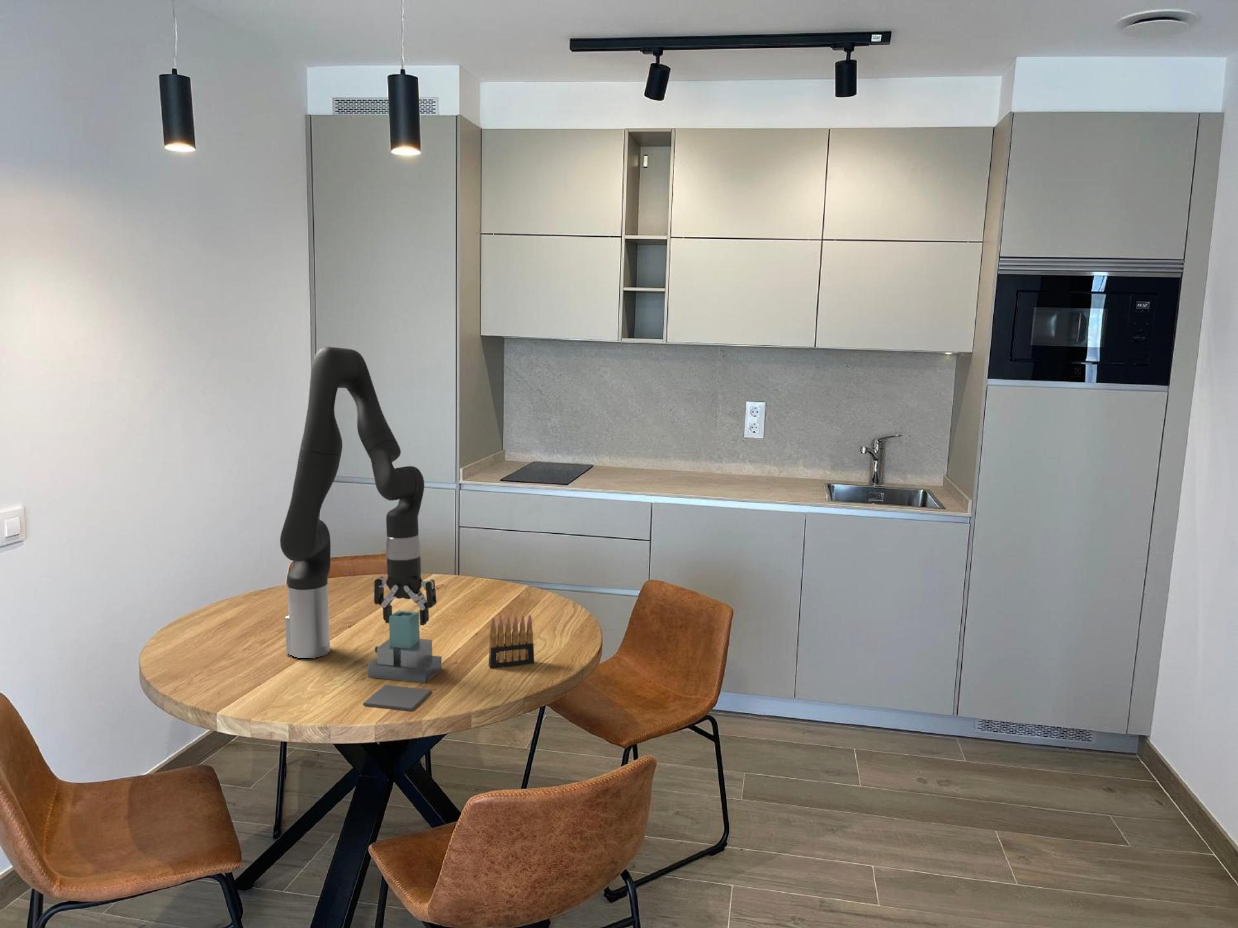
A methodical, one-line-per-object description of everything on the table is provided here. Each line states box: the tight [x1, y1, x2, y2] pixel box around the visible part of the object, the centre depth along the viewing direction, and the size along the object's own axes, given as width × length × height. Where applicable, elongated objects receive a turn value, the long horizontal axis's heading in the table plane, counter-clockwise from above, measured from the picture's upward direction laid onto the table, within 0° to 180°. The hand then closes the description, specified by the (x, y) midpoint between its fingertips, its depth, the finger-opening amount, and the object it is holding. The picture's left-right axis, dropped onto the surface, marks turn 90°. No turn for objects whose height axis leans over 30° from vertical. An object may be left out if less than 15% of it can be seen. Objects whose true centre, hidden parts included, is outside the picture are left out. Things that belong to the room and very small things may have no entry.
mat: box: [362, 684, 432, 712], centre depth 191 cm, size 11×10×1 cm
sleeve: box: [388, 609, 421, 648], centre depth 204 cm, size 5×5×7 cm
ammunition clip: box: [488, 614, 535, 669], centre depth 211 cm, size 11×2×12 cm, turn 110°
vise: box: [367, 615, 443, 684], centre depth 205 cm, size 14×9×14 cm, turn 78°
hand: (406, 623), depth 204 cm, fingers open, 8 cm apart
